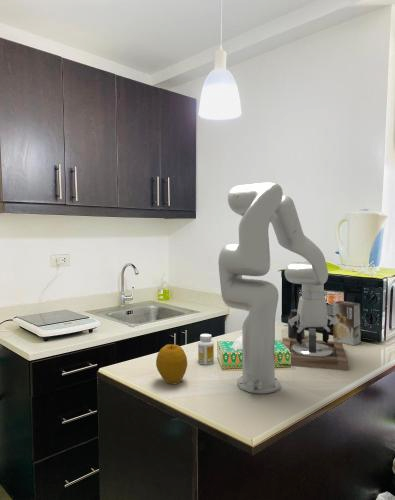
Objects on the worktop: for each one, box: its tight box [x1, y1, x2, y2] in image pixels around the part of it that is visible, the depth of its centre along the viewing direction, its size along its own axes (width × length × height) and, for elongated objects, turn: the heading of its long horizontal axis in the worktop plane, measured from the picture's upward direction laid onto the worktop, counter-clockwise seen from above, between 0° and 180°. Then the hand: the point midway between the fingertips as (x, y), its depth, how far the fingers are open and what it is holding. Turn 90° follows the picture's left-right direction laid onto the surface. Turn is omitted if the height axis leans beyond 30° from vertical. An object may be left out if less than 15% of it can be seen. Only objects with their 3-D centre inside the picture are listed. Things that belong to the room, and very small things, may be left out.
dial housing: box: [281, 337, 349, 371], centre depth 139 cm, size 22×22×3 cm
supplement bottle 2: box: [287, 308, 305, 339], centre depth 161 cm, size 7×7×12 cm
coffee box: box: [332, 300, 362, 346], centre depth 156 cm, size 9×6×16 cm
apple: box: [155, 343, 188, 384], centre depth 117 cm, size 10×10×12 cm
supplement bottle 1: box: [197, 333, 215, 366], centre depth 134 cm, size 5×5×10 cm
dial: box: [292, 327, 333, 357], centre depth 138 cm, size 14×14×8 cm
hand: (312, 342), depth 138 cm, fingers open, 9 cm apart
